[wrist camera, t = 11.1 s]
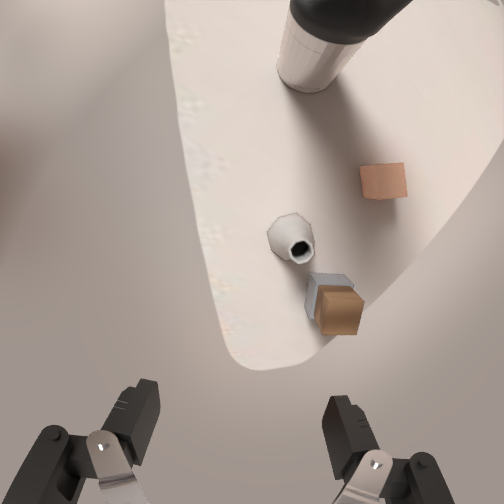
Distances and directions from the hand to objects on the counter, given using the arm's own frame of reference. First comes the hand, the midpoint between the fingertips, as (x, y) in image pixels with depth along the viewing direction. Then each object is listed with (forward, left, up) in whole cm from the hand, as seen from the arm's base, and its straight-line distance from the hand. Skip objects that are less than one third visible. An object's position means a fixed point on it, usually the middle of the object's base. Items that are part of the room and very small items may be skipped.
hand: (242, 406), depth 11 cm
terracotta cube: (-13, +19, -33) cm, 40 cm away
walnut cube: (+6, +13, -28) cm, 32 cm away
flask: (-2, +6, -33) cm, 34 cm away
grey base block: (+6, +13, -33) cm, 36 cm away
